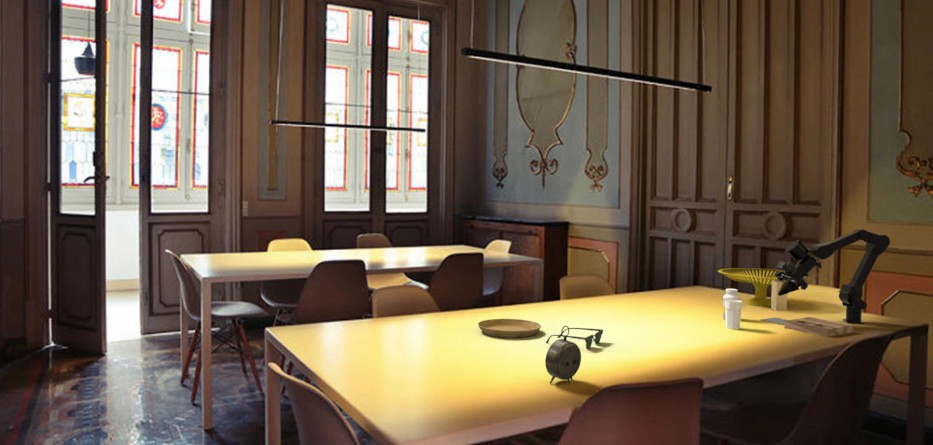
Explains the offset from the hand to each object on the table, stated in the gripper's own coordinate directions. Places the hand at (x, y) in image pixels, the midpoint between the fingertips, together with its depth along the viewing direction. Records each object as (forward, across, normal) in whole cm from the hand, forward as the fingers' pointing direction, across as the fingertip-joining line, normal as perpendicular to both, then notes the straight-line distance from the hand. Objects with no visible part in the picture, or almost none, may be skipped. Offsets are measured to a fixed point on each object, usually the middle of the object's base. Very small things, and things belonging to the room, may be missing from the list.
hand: (776, 294), depth 281 cm
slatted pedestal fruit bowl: (-2, -45, +18) cm, 49 cm away
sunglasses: (+74, +42, -57) cm, 103 cm away
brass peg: (+4, 0, +6) cm, 7 cm away
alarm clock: (+81, +90, -65) cm, 138 cm away
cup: (+25, +14, -9) cm, 30 cm away
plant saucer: (+89, +25, -73) cm, 117 cm away
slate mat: (+7, 0, +9) cm, 12 cm away
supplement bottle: (+20, -4, -4) cm, 21 cm away
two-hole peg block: (+2, +17, +15) cm, 23 cm away
